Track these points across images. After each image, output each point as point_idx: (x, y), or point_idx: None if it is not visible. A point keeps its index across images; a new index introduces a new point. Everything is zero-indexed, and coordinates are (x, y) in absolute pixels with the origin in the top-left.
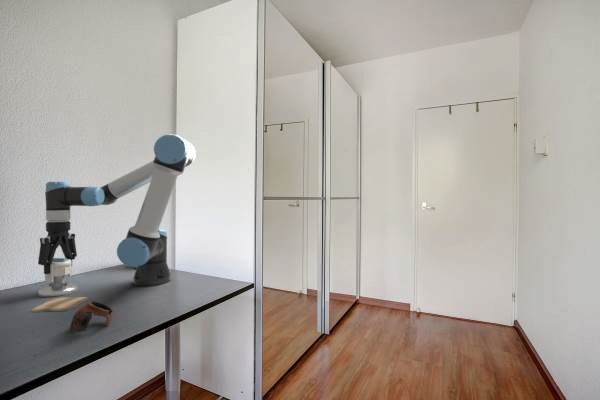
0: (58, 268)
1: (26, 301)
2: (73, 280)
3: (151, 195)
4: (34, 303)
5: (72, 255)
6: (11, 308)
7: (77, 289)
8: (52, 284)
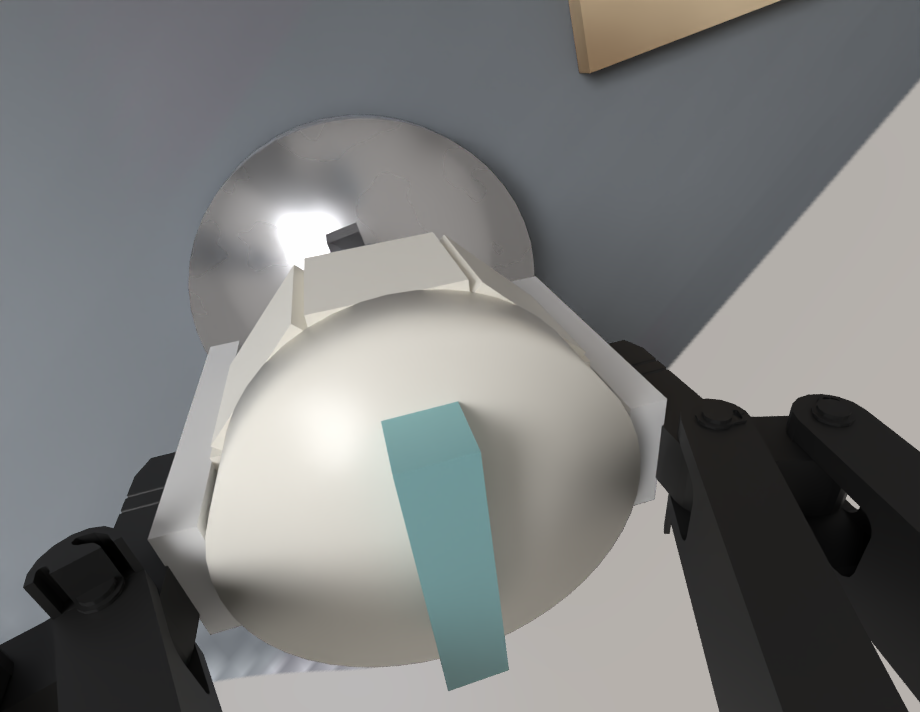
0: (549, 323)
1: (621, 291)
2: (27, 527)
3: None
4: (663, 177)
5: (62, 665)
6: (755, 233)
7: (232, 172)
8: None
